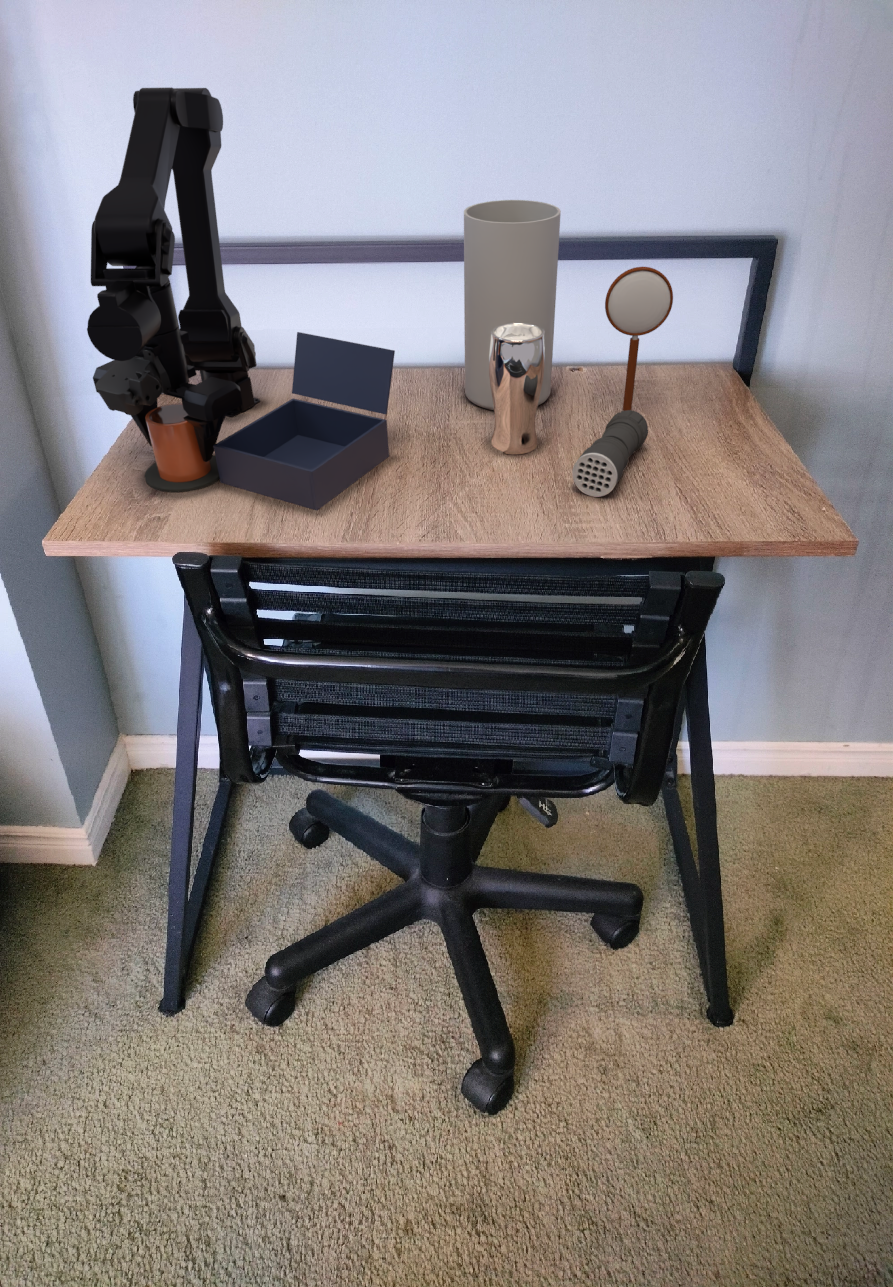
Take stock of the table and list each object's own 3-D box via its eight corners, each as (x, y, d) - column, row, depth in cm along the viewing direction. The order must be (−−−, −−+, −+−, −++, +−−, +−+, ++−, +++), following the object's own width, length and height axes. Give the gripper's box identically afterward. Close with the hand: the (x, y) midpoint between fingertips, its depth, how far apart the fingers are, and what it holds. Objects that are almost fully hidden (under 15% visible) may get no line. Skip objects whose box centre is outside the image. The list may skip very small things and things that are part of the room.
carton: (297, 435, 122) (292, 398, 118) (389, 458, 116) (386, 419, 113) (220, 485, 111) (213, 445, 108) (317, 513, 105) (312, 471, 102)
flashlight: (608, 440, 119) (612, 402, 115) (648, 448, 117) (653, 408, 114) (570, 491, 108) (573, 450, 105) (613, 500, 106) (618, 459, 103)
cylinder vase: (447, 398, 131) (443, 213, 115) (500, 372, 138) (504, 195, 122) (515, 421, 124) (521, 228, 109) (567, 393, 131) (579, 208, 116)
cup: (147, 475, 112) (133, 418, 107) (183, 454, 116) (171, 399, 112) (186, 486, 109) (174, 429, 105) (222, 465, 114) (211, 409, 109)
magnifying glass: (595, 419, 124) (608, 269, 112) (594, 414, 125) (607, 265, 113) (658, 419, 124) (678, 268, 111) (656, 414, 125) (676, 264, 113)
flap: (291, 393, 118) (293, 393, 118) (385, 414, 112) (387, 414, 112) (297, 332, 115) (298, 332, 115) (393, 350, 109) (395, 350, 110)
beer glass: (537, 458, 115) (542, 342, 106) (484, 454, 116) (484, 339, 107) (543, 435, 120) (549, 323, 111) (492, 431, 122) (493, 320, 112)
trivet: (128, 484, 112) (127, 478, 111) (184, 451, 119) (182, 446, 118) (189, 502, 108) (187, 496, 107) (242, 468, 115) (241, 462, 114)
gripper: (40, 336, 100) (78, 463, 110) (164, 366, 93) (192, 498, 102) (114, 307, 107) (143, 428, 117) (234, 332, 100) (255, 459, 110)
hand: (180, 452), depth 111 cm, fingers open, 8 cm apart
